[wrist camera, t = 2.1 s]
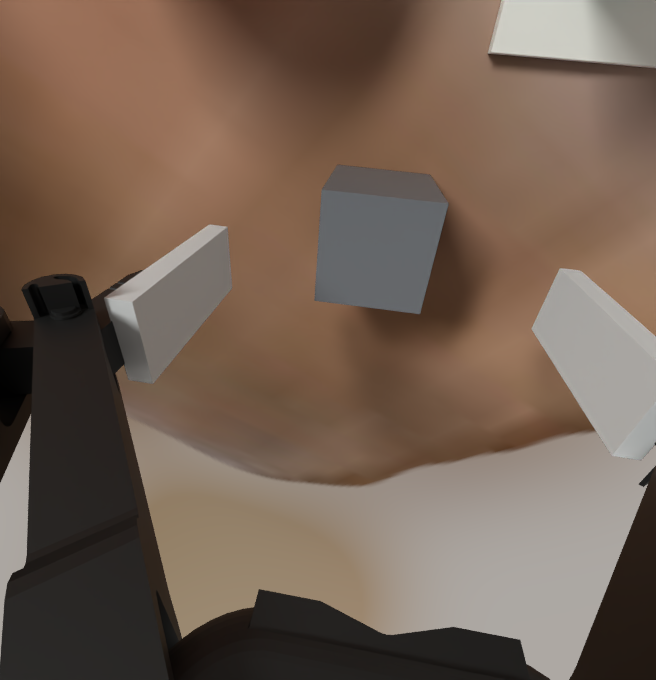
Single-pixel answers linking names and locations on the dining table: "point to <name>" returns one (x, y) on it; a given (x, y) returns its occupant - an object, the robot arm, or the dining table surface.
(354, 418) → the dining table surface
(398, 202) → the grey rectangular block
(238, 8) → the dining table surface
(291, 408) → the dining table surface
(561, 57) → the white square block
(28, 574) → the robot arm
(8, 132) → the dining table surface
